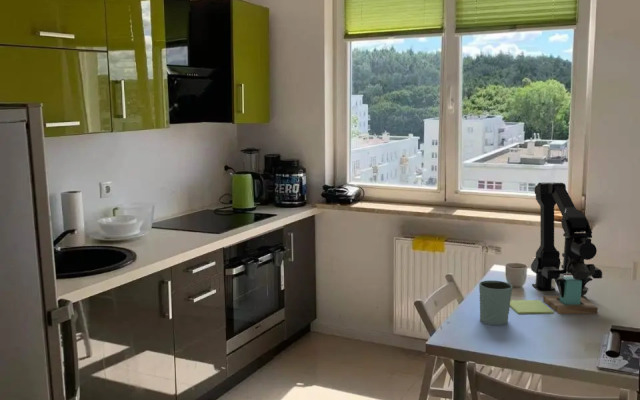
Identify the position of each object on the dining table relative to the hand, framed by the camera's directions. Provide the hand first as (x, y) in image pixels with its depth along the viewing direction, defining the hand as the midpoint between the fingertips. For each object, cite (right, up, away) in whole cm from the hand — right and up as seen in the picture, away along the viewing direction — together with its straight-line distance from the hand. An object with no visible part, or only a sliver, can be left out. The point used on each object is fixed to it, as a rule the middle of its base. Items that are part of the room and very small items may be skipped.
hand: (570, 297), depth 215 cm
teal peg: (0, -4, +1) cm, 4 cm away
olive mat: (-14, -4, 0) cm, 14 cm away
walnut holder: (0, -3, +1) cm, 4 cm away
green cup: (-29, -6, -13) cm, 33 cm away
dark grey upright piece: (+7, -2, +11) cm, 13 cm away
